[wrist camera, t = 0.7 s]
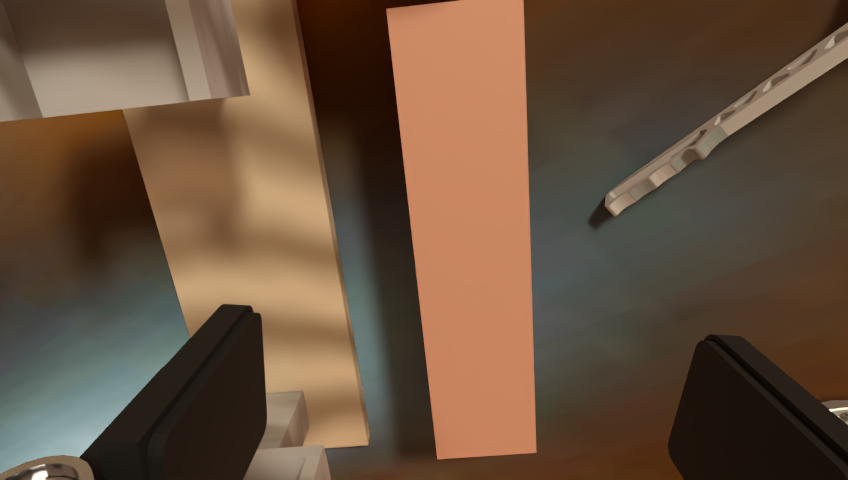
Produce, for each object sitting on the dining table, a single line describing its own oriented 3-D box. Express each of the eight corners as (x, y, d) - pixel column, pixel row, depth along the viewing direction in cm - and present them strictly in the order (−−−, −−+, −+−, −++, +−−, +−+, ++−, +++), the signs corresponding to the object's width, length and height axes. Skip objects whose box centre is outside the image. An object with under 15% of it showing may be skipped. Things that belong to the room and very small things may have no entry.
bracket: (1014, -89, 23) (1193, -68, 16) (626, 157, 37) (624, 230, 29) (985, -144, 22) (1157, -149, 15) (600, 127, 36) (591, 195, 29)
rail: (516, 382, 35) (536, 452, 28) (436, 388, 35) (437, 459, 29) (500, 14, 27) (523, -7, 20) (397, 26, 27) (386, 8, 21)
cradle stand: (370, 433, 36) (341, 594, 25) (231, 443, 37) (142, 605, 26) (290, -33, 26) (182, -118, 15) (100, -10, 27) (-145, -76, 15)
